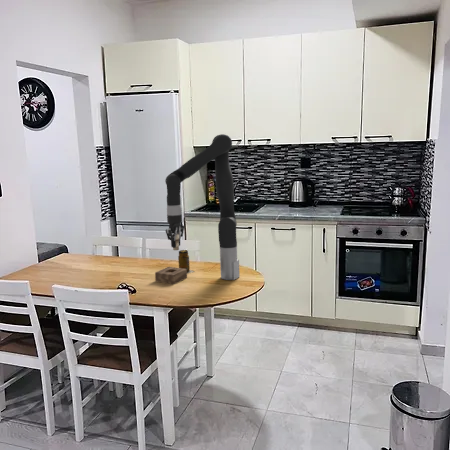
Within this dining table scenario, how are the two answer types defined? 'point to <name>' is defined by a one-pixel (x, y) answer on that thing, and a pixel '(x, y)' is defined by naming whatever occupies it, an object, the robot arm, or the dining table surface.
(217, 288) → the dining table surface
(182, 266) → the condiment
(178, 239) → the peg
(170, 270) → the socket block
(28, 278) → the dining table surface
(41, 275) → the dining table surface
